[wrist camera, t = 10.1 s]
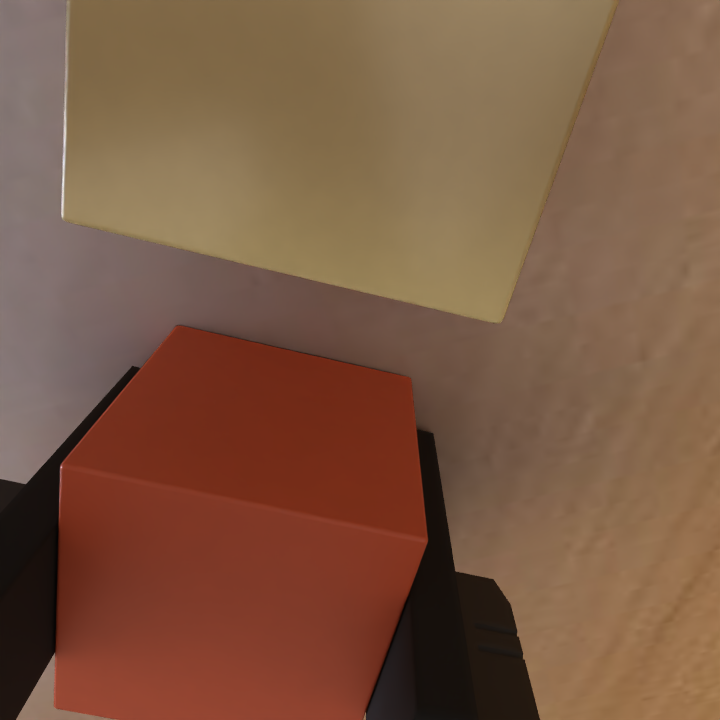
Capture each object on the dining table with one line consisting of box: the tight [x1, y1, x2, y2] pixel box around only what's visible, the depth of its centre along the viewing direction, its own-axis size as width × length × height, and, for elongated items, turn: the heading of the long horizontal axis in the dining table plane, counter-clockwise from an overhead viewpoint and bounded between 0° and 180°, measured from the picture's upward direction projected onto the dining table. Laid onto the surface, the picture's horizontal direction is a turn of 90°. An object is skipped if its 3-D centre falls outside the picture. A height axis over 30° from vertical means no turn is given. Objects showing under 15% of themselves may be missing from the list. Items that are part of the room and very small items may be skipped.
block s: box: [54, 325, 428, 720], centre depth 11 cm, size 5×5×5 cm
